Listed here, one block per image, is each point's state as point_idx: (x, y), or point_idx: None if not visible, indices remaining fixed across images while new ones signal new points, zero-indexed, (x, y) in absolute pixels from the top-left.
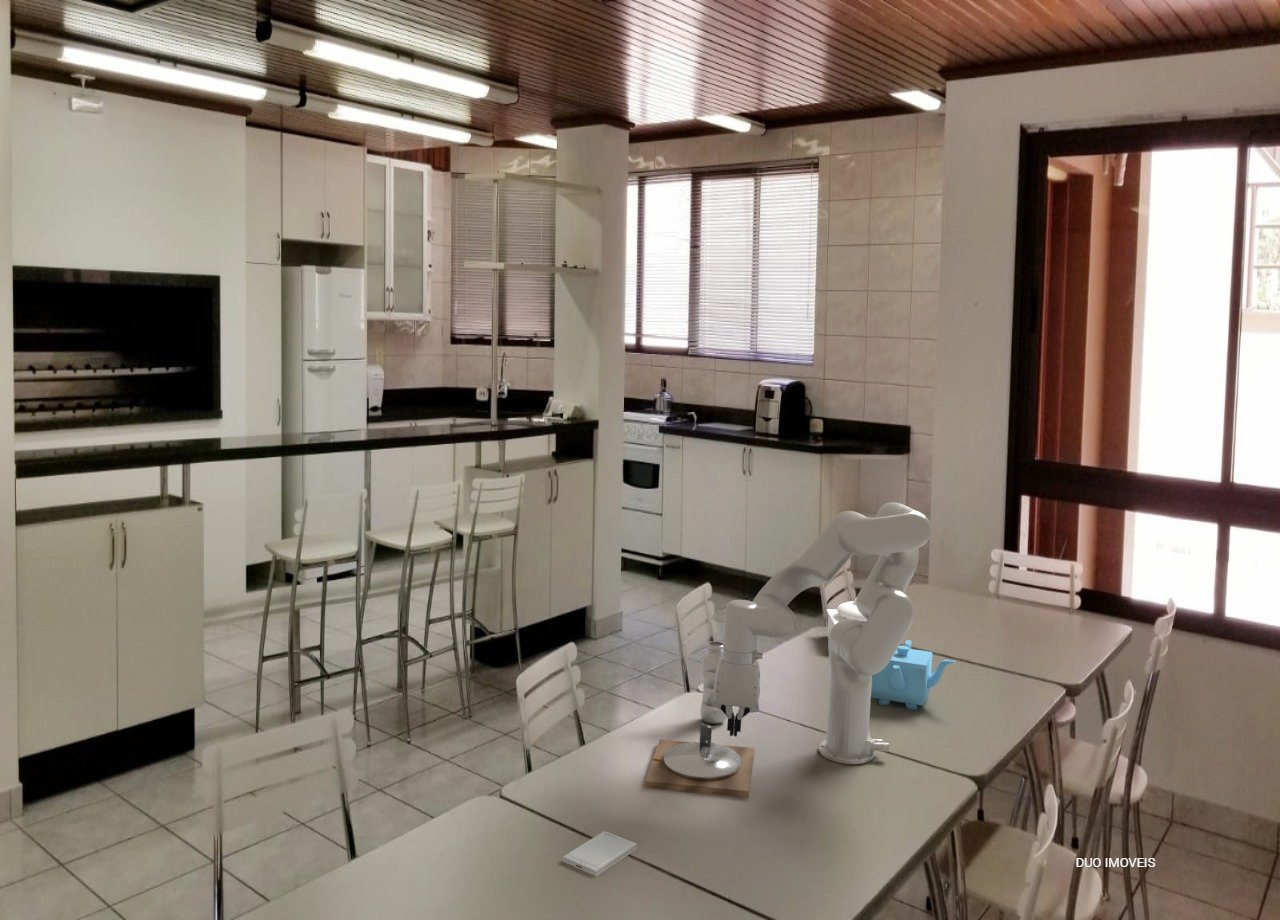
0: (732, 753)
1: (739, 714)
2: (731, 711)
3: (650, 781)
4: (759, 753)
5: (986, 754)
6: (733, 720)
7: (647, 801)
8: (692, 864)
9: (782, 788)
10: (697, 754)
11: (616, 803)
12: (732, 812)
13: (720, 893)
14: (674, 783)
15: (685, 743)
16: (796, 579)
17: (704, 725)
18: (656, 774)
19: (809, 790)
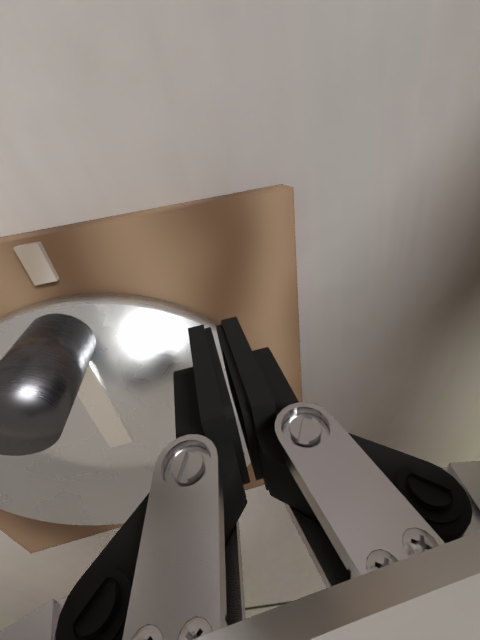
0: (223, 362)
1: (316, 528)
2: (242, 585)
3: (46, 548)
4: (304, 162)
5: None
6: (246, 483)
7: (89, 555)
8: (246, 594)
9: (377, 388)
10: (88, 430)
11: (33, 584)
12: (273, 505)
13: (289, 600)
14: (113, 527)
15: None
16: None
17: None
18: (32, 524)
19: (442, 368)
